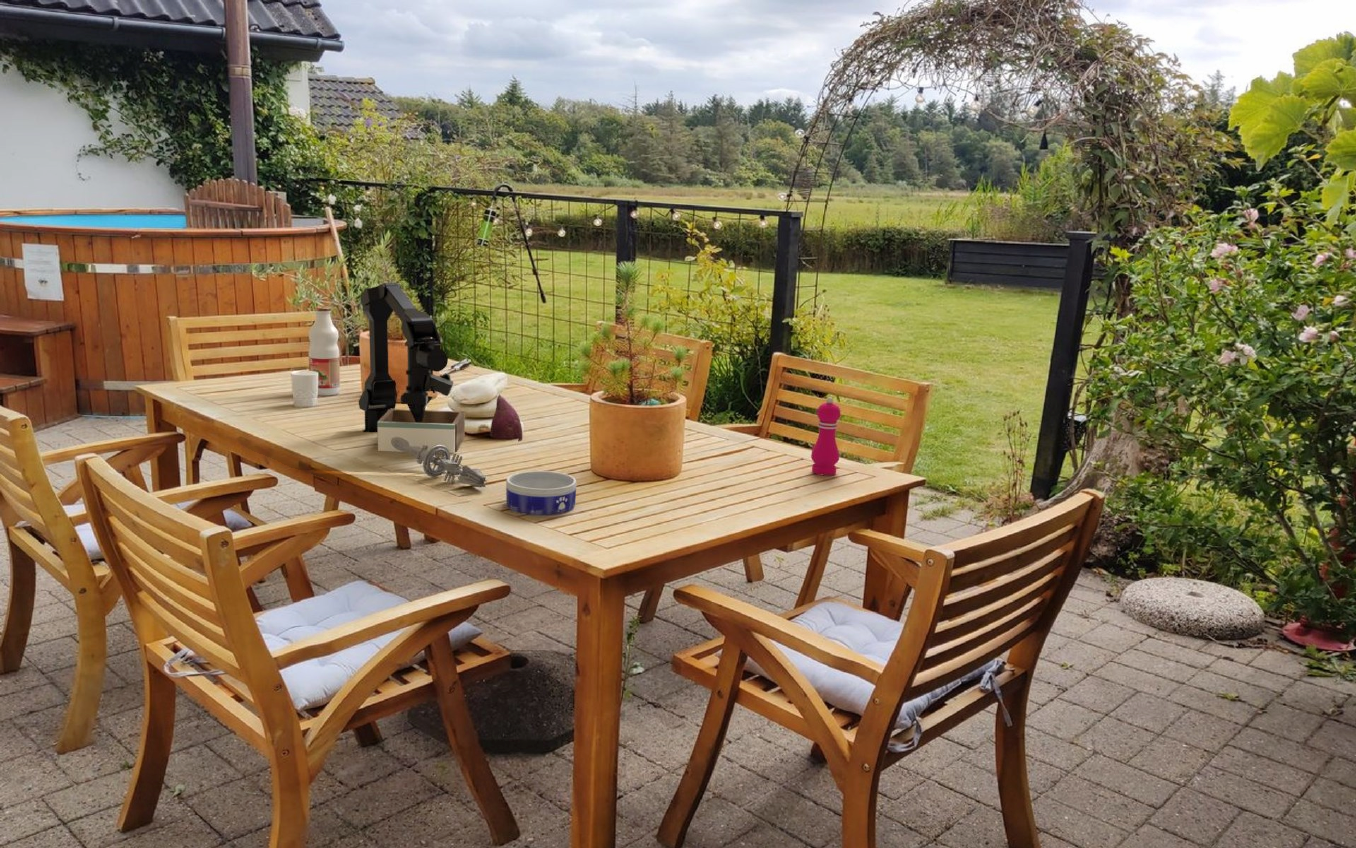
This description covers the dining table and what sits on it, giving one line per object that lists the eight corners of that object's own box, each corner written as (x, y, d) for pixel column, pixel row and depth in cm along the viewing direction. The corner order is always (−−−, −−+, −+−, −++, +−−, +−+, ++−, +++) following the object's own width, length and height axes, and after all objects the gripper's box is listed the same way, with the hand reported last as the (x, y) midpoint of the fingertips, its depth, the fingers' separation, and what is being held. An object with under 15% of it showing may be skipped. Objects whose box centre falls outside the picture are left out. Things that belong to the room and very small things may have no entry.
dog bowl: (546, 492, 238) (546, 466, 237) (589, 507, 228) (590, 481, 226) (491, 503, 227) (492, 477, 226) (535, 520, 217) (536, 493, 216)
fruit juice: (344, 394, 333) (342, 308, 327) (315, 397, 328) (312, 309, 322) (334, 389, 340) (332, 305, 334) (305, 391, 335) (303, 305, 329)
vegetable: (485, 448, 285) (471, 402, 283) (505, 438, 293) (492, 393, 290) (511, 445, 281) (498, 398, 278) (531, 435, 288) (518, 389, 286)
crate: (377, 452, 265) (377, 421, 263) (390, 437, 280) (389, 409, 278) (456, 454, 266) (456, 424, 265) (464, 440, 282) (464, 411, 280)
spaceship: (408, 428, 258) (384, 421, 251) (503, 470, 238) (479, 463, 231) (397, 458, 257) (372, 451, 251) (490, 502, 237) (466, 496, 231)
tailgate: (377, 451, 263) (377, 422, 261) (379, 449, 264) (378, 421, 262) (454, 453, 264) (454, 424, 263) (454, 452, 266) (454, 423, 264)
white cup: (324, 405, 317) (323, 373, 314) (303, 408, 310) (302, 376, 308) (307, 401, 321) (306, 369, 319) (286, 404, 314) (285, 372, 312)
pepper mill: (820, 477, 263) (826, 400, 258) (804, 470, 269) (810, 395, 264) (843, 475, 266) (850, 399, 262) (827, 468, 272) (833, 393, 268)
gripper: (445, 372, 255) (445, 434, 258) (455, 361, 273) (455, 418, 276) (400, 371, 254) (400, 432, 257) (413, 359, 272) (413, 417, 276)
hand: (419, 425), depth 267 cm, fingers closed
